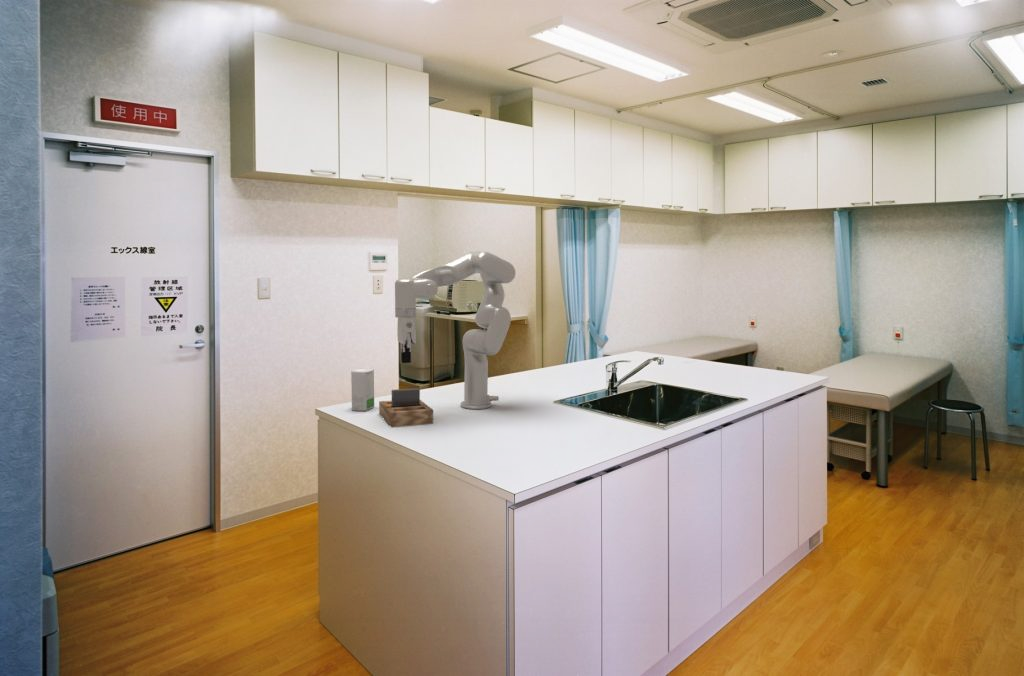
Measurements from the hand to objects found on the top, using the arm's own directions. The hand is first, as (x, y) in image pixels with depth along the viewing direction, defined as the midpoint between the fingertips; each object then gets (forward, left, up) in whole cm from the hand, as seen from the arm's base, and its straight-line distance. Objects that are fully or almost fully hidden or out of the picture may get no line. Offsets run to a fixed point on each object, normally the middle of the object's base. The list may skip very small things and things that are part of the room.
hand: (406, 362), depth 226 cm
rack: (0, 0, -21) cm, 21 cm away
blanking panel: (0, 0, -19) cm, 19 cm away
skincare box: (+12, -21, -21) cm, 32 cm away
